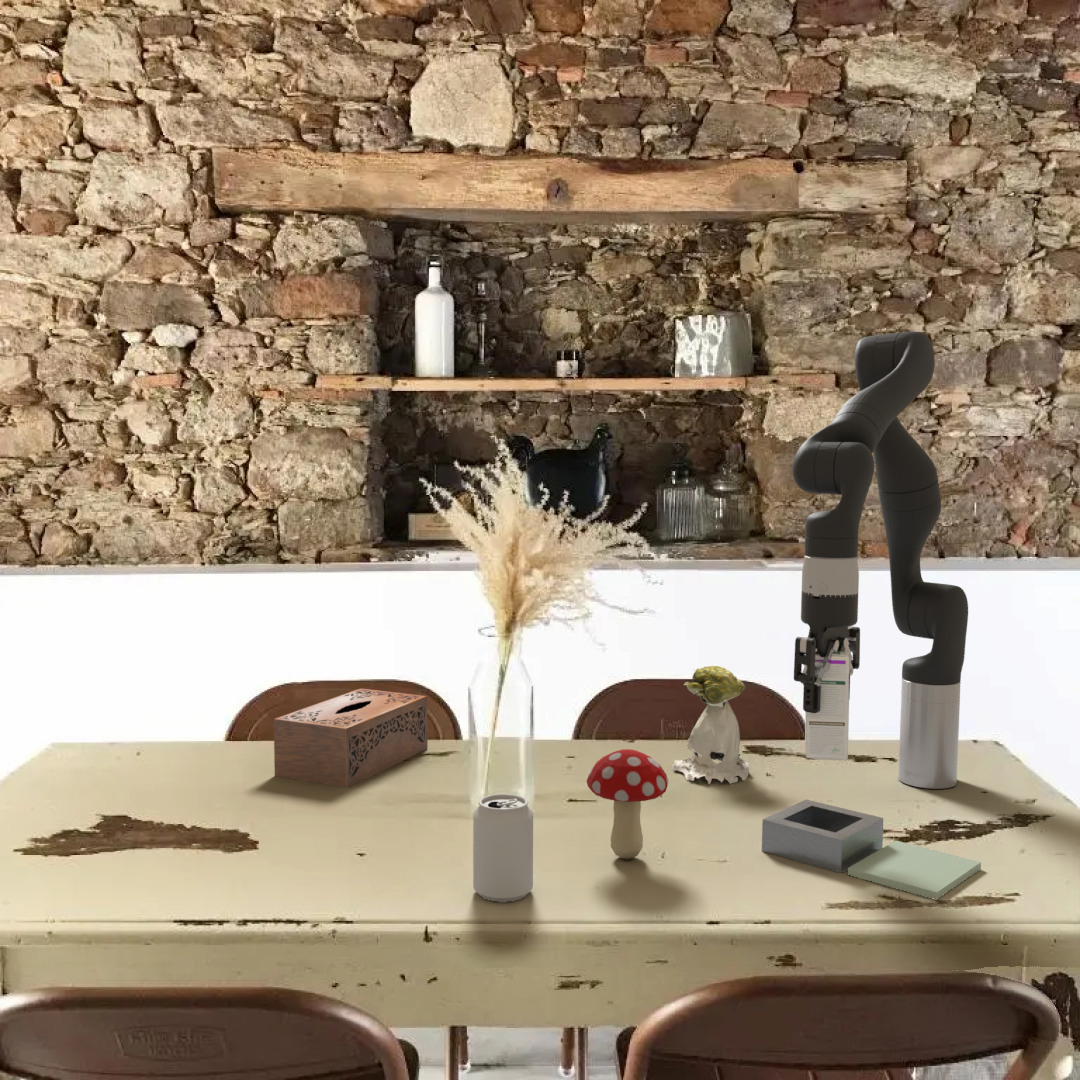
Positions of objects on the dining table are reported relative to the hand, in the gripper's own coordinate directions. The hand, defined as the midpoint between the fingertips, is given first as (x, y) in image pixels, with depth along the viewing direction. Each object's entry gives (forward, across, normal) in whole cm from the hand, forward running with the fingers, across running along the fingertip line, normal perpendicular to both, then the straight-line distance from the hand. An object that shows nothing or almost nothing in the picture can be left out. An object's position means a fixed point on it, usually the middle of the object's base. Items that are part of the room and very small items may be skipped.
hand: (826, 706), depth 160 cm
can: (+21, +41, -22) cm, 51 cm away
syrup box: (+7, 0, 0) cm, 7 cm away
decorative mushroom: (+21, +21, -18) cm, 34 cm away
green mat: (+20, -1, +13) cm, 24 cm away
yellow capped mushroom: (+21, -20, -32) cm, 43 cm away
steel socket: (+20, 0, 0) cm, 20 cm away
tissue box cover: (+21, +17, -81) cm, 86 cm away
